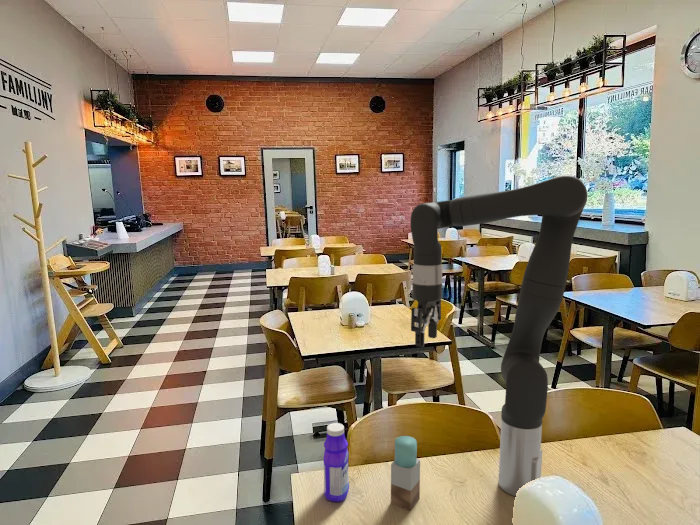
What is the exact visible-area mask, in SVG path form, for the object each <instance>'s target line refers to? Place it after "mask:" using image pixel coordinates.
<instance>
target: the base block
mask: <svg viewBox="0 0 700 525" xmlns="http://www.w3.org/2000/svg"><path fill="white" fill-rule="evenodd" d="M420 483H421V479H420V480H419V481H418V483H417V484H416V485H415V486H414V488H413V489H412V490H411V491H410V490H407V489H404V488H401V487H398V486H396V485H393V484H391V483H390V504H392V505H394V506H397V507H400V508H402V509H405V510H407V511H412V510H413V508H414V507H415V505H416V504H417V503H418V502H419V500H420V494H421V493H420V492H421V486H420Z"/></svg>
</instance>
